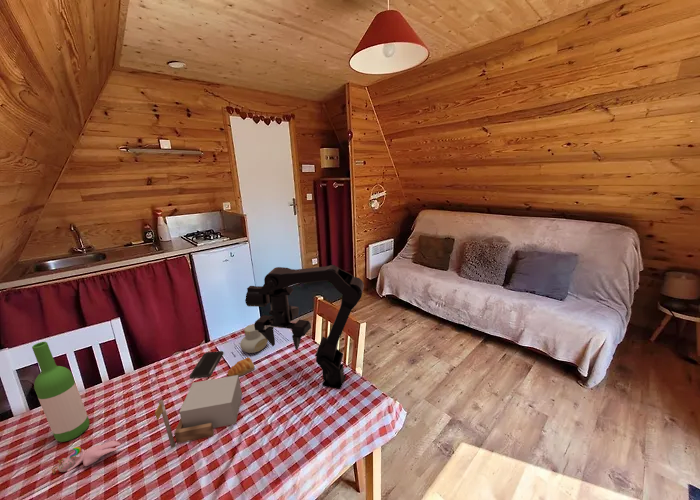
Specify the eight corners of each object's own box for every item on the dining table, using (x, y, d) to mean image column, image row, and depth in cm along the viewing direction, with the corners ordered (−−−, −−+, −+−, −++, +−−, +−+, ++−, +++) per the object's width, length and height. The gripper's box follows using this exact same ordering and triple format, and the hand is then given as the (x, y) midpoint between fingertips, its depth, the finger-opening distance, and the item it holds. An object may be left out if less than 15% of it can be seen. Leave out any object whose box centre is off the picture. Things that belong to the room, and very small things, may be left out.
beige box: (242, 395, 99) (238, 375, 97) (235, 424, 88) (231, 402, 86) (197, 403, 97) (192, 382, 95) (185, 434, 85) (179, 411, 83)
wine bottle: (63, 427, 90) (28, 341, 82) (94, 417, 93) (64, 333, 85) (50, 448, 83) (11, 356, 75) (84, 437, 86) (50, 347, 78)
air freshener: (251, 358, 118) (248, 336, 115) (237, 353, 122) (233, 331, 119) (271, 344, 127) (268, 323, 124) (258, 339, 131) (254, 319, 128)
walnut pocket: (225, 392, 100) (217, 354, 96) (209, 448, 80) (198, 403, 76) (191, 398, 99) (182, 360, 94) (166, 457, 78) (153, 411, 74)
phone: (223, 350, 123) (209, 375, 108) (224, 353, 123) (210, 377, 109) (204, 352, 122) (188, 377, 108) (205, 355, 123) (188, 379, 108)
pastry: (232, 382, 105) (230, 373, 104) (224, 374, 110) (222, 365, 109) (256, 369, 112) (255, 360, 111) (248, 362, 116) (246, 353, 115)
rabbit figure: (51, 485, 74) (116, 461, 77) (39, 468, 73) (105, 445, 75) (68, 462, 80) (127, 441, 83) (56, 446, 79) (117, 425, 81)
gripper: (315, 298, 101) (319, 337, 106) (269, 293, 107) (274, 331, 112) (300, 313, 91) (305, 356, 96) (250, 307, 97) (256, 348, 102)
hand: (285, 347), depth 101 cm, fingers open, 9 cm apart
